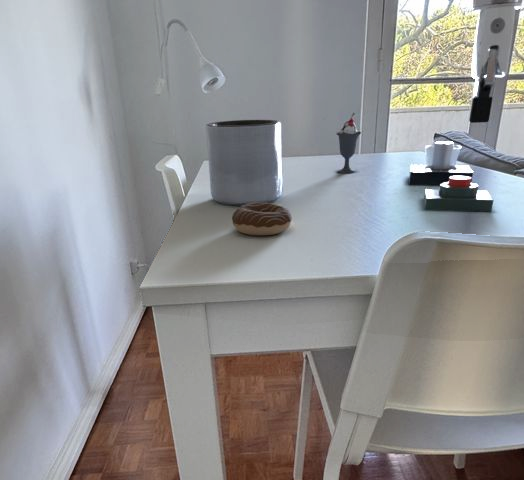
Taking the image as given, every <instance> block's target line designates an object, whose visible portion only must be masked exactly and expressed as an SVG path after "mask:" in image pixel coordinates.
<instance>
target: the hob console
mask: <svg viewBox="0 0 524 480" xmlns="http://www.w3.org/2000/svg"><path fill="white" fill-rule="evenodd" d="M431 167H432V165H426V164H424V165H423V164H419V165H417V164H414V165H413V164H411V165H410V166H409V175H408V185H409V186H440V184H441V183H444V182H449V177H451V176H467V177H471V183H473V182H472V181H473V177H474V171H473V170H472V168H471V167H470V166H469V165H455V166H450V168H449V169H447V170H436V169H432V168H431Z"/></svg>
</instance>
